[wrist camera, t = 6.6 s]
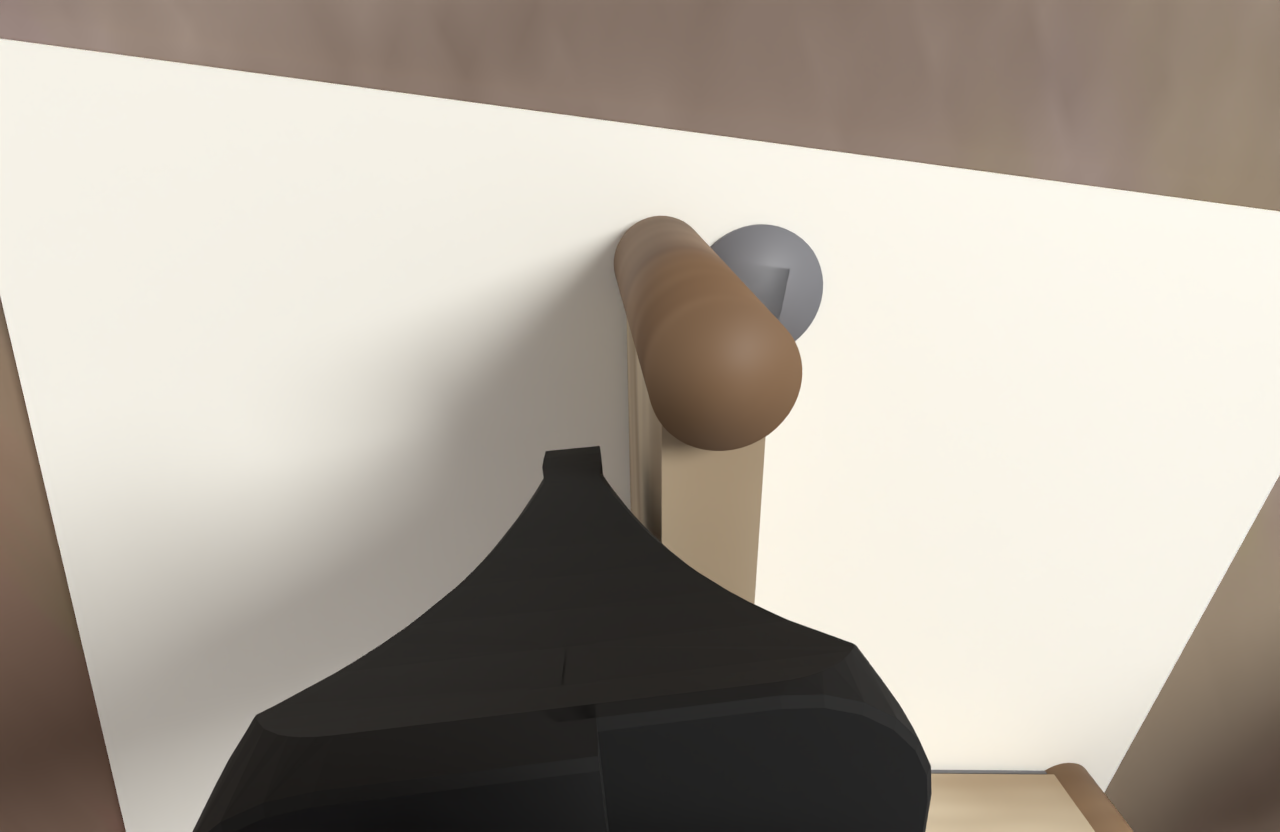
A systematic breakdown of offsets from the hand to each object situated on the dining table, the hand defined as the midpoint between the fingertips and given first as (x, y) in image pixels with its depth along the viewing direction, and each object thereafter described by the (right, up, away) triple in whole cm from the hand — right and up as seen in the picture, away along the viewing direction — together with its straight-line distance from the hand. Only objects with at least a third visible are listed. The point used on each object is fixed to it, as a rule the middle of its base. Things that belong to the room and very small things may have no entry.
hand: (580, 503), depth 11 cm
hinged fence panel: (+1, -1, +3) cm, 4 cm away
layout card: (+2, -2, +4) cm, 5 cm away
